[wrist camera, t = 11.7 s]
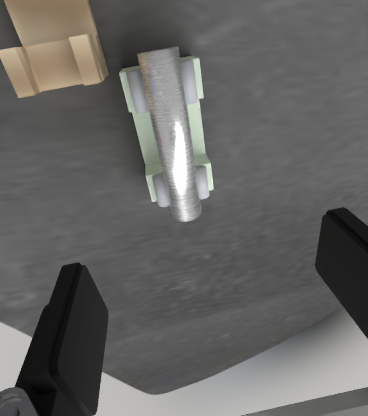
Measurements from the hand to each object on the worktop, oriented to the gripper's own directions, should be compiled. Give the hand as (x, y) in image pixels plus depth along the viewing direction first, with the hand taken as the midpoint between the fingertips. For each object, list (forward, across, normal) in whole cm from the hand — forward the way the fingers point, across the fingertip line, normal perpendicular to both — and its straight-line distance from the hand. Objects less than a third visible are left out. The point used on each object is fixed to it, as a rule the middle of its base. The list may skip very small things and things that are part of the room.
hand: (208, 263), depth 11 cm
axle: (+14, 0, 0) cm, 14 cm away
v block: (+20, 0, 0) cm, 20 cm away
